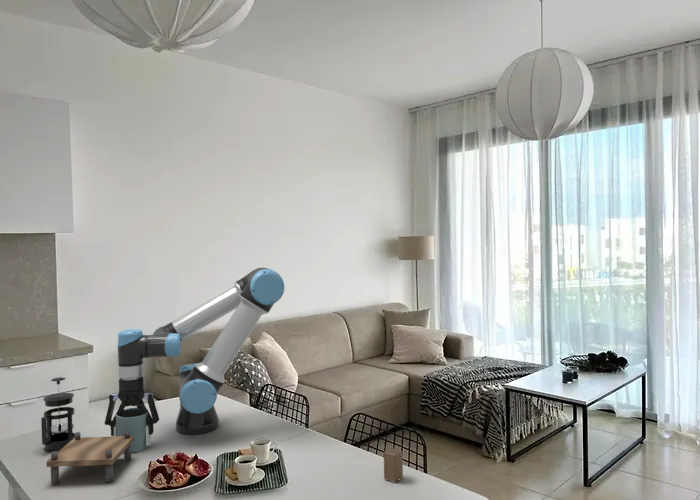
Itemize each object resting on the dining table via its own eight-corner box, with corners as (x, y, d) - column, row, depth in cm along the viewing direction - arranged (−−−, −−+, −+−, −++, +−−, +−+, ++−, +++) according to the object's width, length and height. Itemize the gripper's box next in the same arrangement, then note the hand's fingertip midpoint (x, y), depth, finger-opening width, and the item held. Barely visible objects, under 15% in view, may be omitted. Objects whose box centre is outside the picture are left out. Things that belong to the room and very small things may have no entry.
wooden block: (391, 474, 158) (391, 447, 158) (403, 478, 156) (403, 450, 155) (383, 479, 155) (383, 451, 155) (395, 483, 152) (394, 455, 152)
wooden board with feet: (134, 457, 173) (133, 429, 172) (112, 483, 155) (112, 452, 154) (75, 459, 172) (74, 431, 171) (47, 486, 154) (46, 454, 153)
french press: (62, 439, 189) (60, 373, 188) (84, 442, 186) (82, 375, 185) (32, 452, 178) (30, 382, 177) (55, 455, 175) (53, 384, 174)
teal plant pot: (124, 442, 186) (123, 407, 185) (154, 442, 185) (153, 407, 185) (110, 454, 175) (109, 417, 175) (142, 454, 175) (141, 417, 175)
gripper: (168, 373, 184) (170, 439, 185) (101, 375, 183) (102, 441, 183) (162, 379, 177) (163, 448, 177) (91, 381, 175) (93, 450, 176)
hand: (132, 444), depth 180 cm, fingers closed on teal plant pot, 9 cm apart
